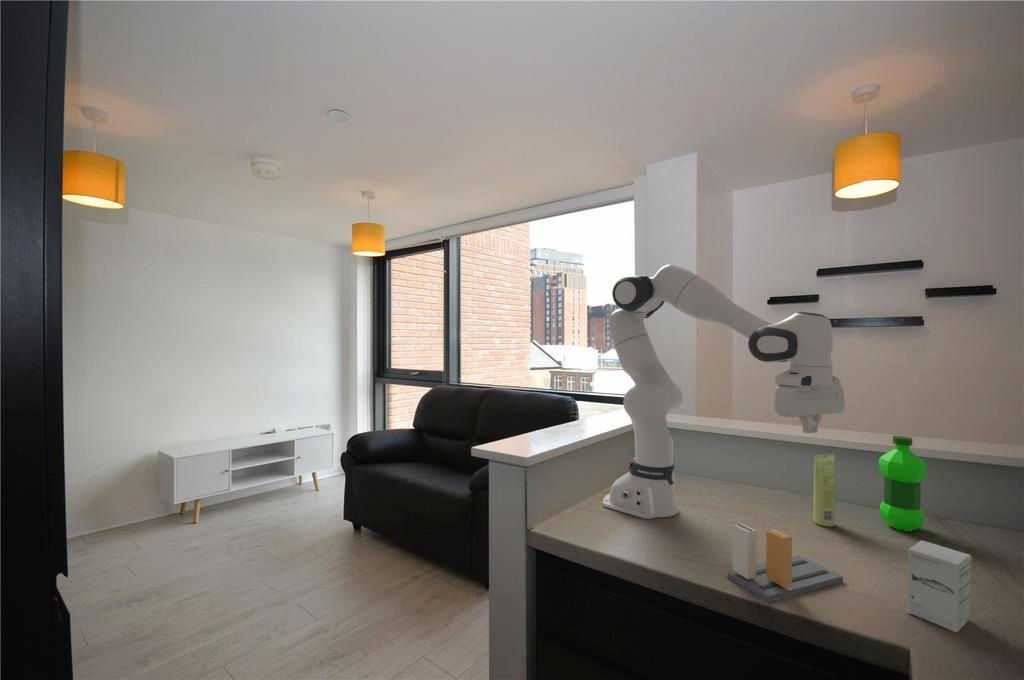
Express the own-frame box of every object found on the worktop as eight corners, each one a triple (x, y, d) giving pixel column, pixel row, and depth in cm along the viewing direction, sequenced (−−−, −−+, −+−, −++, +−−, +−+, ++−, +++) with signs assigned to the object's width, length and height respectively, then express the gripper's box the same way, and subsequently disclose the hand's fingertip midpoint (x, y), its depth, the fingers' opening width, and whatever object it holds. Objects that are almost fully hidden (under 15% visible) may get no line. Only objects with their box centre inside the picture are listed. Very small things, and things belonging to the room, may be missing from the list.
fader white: (747, 579, 97) (748, 531, 97) (732, 570, 100) (732, 524, 100) (756, 577, 98) (756, 529, 97) (741, 568, 101) (741, 522, 101)
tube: (812, 518, 133) (813, 451, 133) (833, 521, 130) (834, 453, 130) (813, 525, 128) (814, 455, 128) (835, 528, 126) (836, 458, 125)
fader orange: (783, 587, 94) (783, 537, 94) (766, 577, 97) (766, 530, 97) (791, 584, 94) (791, 536, 94) (774, 575, 98) (774, 528, 98)
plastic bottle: (897, 535, 121) (898, 441, 121) (868, 519, 132) (869, 433, 132) (937, 536, 121) (938, 442, 121) (905, 520, 131) (906, 433, 131)
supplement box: (905, 613, 88) (906, 548, 88) (920, 601, 92) (921, 538, 92) (957, 634, 82) (958, 564, 81) (971, 620, 86) (972, 553, 85)
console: (767, 602, 91) (767, 595, 91) (727, 577, 101) (727, 571, 101) (842, 581, 99) (842, 575, 99) (799, 560, 108) (799, 554, 108)
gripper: (827, 374, 120) (826, 427, 120) (769, 377, 113) (769, 433, 113) (852, 376, 114) (851, 432, 114) (793, 379, 107) (792, 438, 107)
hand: (810, 432), depth 114 cm, fingers closed
